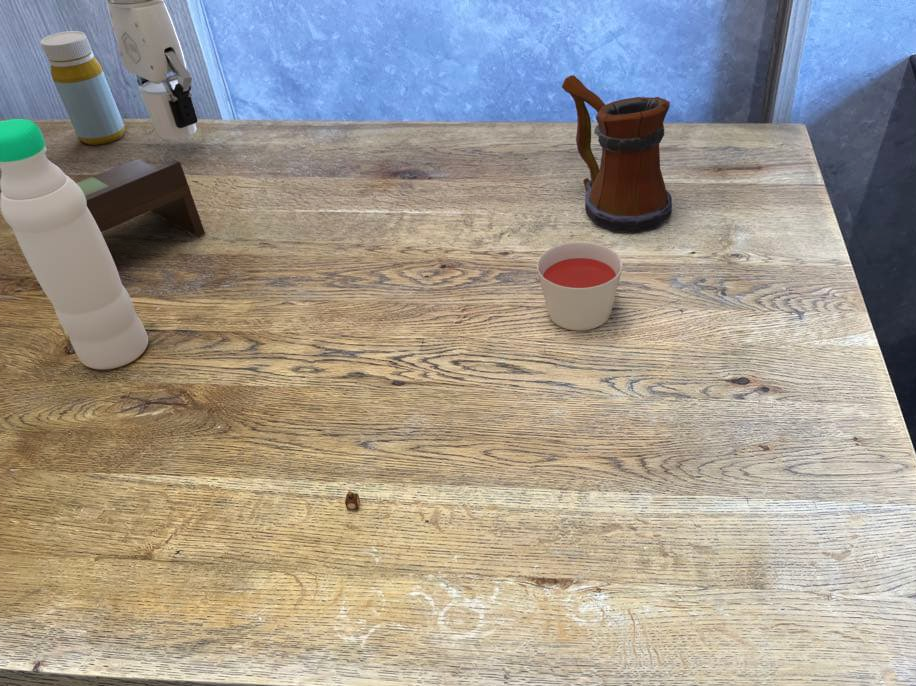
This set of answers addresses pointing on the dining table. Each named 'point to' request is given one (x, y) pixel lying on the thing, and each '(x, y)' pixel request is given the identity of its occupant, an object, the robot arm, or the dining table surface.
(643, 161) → the mug
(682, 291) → the dining table surface
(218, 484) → the dining table surface
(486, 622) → the dining table surface
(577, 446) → the dining table surface
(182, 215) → the shelf
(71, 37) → the bottle
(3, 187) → the water bottle
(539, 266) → the candle
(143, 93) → the shot glass
